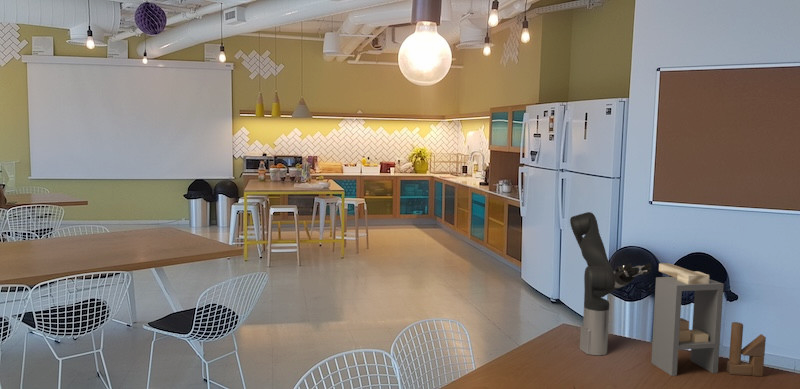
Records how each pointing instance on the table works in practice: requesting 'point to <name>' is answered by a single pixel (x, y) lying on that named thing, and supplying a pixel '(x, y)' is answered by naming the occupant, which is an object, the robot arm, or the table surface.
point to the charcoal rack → (686, 324)
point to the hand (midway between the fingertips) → (640, 265)
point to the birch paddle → (684, 274)
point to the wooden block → (745, 353)
